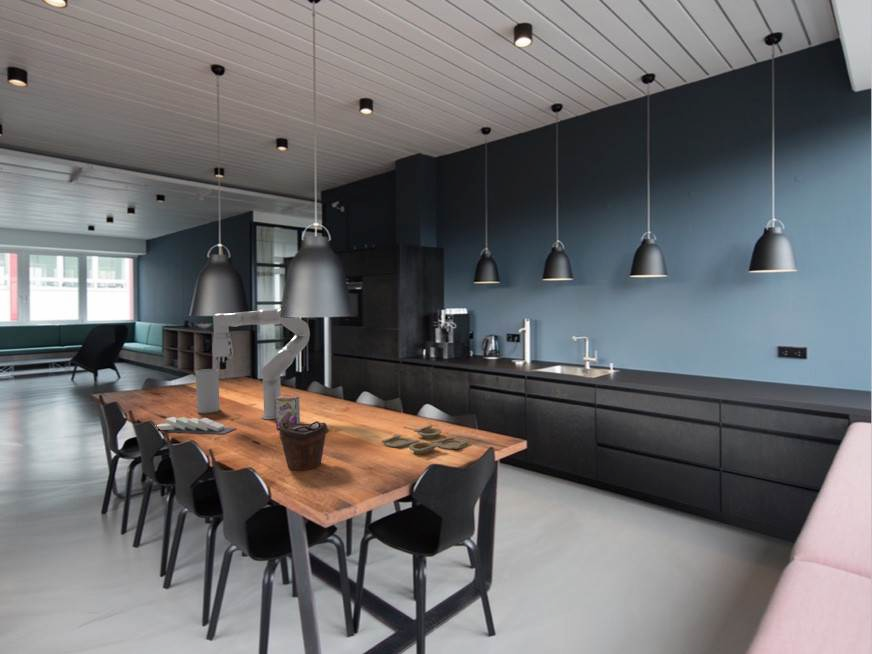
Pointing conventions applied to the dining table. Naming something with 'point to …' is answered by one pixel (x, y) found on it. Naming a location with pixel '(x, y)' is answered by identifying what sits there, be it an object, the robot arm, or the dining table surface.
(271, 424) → the dining table surface
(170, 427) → the domino
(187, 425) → the domino
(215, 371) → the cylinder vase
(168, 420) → the domino
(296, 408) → the candy bar box
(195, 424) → the domino
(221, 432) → the rubber mat
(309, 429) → the brown basket
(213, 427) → the domino
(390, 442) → the tableware set
